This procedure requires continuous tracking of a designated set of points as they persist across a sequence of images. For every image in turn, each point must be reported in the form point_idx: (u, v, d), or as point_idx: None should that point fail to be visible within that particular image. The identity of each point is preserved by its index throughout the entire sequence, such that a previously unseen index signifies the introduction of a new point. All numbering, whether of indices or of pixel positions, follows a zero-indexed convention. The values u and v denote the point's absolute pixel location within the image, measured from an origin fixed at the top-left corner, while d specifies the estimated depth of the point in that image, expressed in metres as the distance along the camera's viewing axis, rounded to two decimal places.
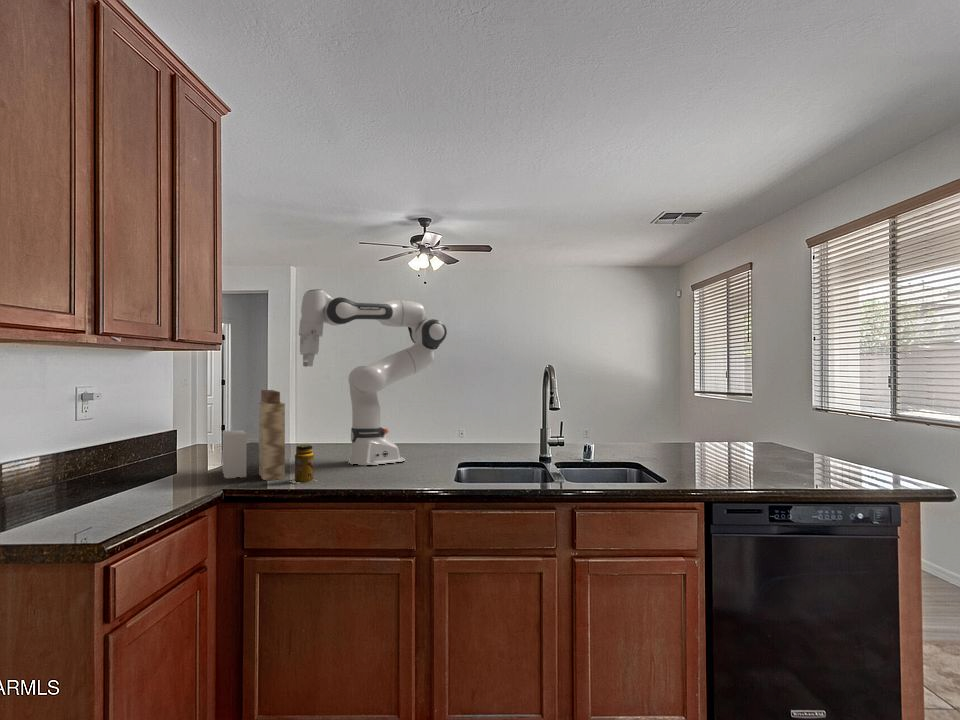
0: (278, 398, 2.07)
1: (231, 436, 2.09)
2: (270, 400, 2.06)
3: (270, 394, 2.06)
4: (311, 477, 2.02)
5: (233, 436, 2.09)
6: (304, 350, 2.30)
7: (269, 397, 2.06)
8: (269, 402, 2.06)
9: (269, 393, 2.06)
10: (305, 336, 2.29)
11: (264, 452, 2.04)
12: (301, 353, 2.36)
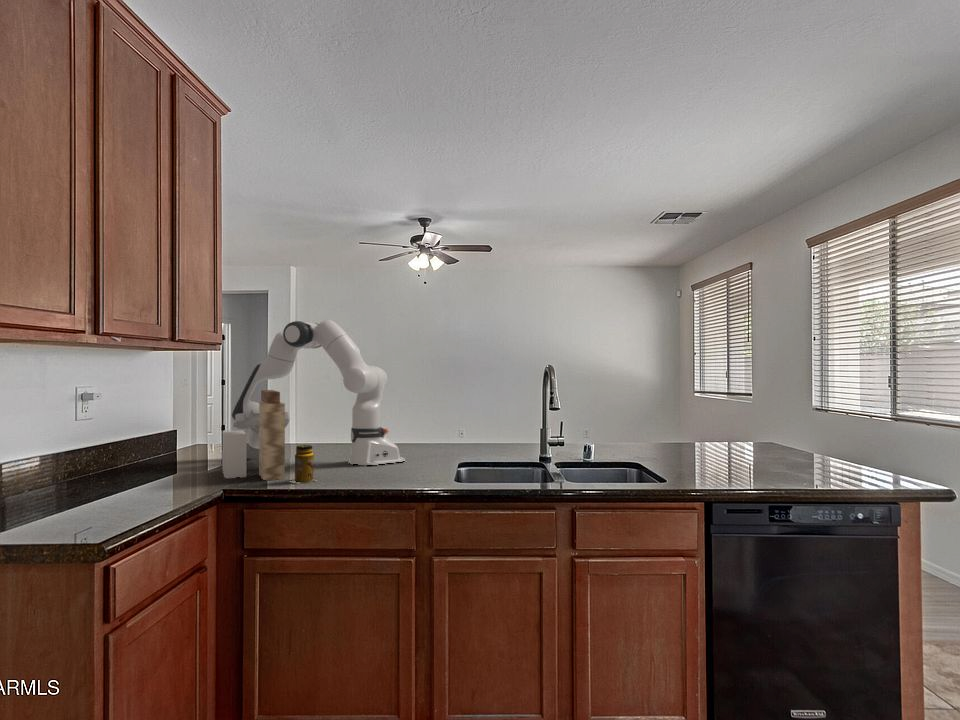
0: (278, 398, 2.07)
1: (231, 436, 2.09)
2: (270, 400, 2.06)
3: (270, 394, 2.06)
4: (311, 477, 2.02)
5: (233, 436, 2.09)
6: None
7: (269, 397, 2.06)
8: (269, 402, 2.06)
9: (269, 393, 2.06)
10: (256, 428, 2.38)
11: (264, 452, 2.04)
12: None
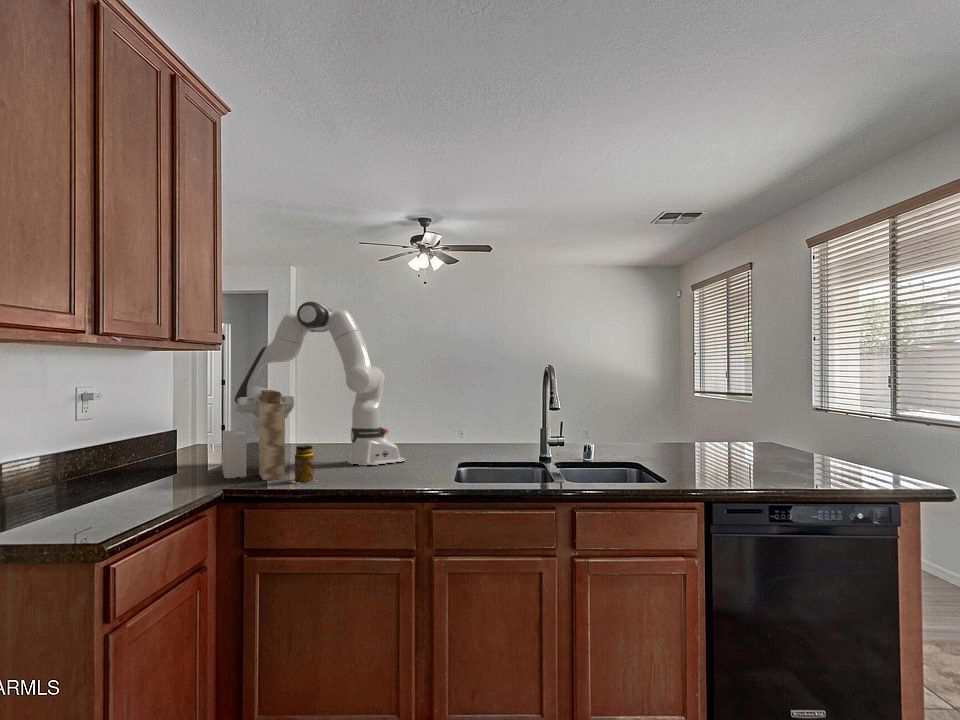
0: (278, 398, 2.07)
1: (231, 436, 2.09)
2: (270, 400, 2.06)
3: (270, 394, 2.06)
4: (311, 477, 2.02)
5: (233, 436, 2.09)
6: None
7: (269, 397, 2.06)
8: (269, 402, 2.06)
9: (269, 393, 2.06)
10: None
11: (264, 452, 2.04)
12: None
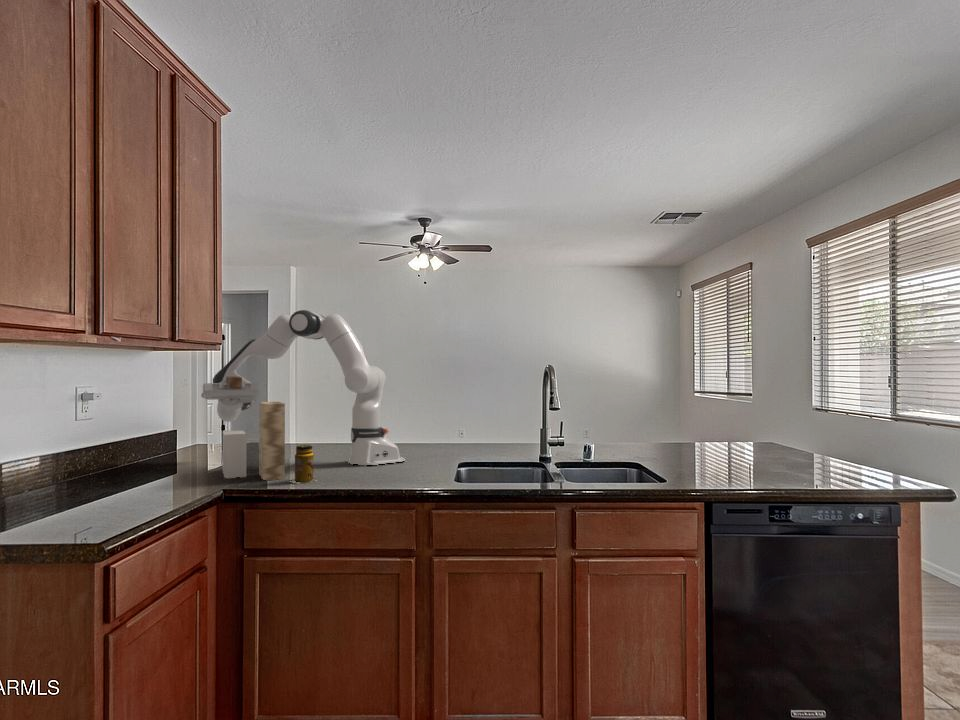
0: (240, 383, 2.11)
1: (231, 436, 2.09)
2: (232, 385, 2.10)
3: (232, 379, 2.10)
4: (311, 477, 2.02)
5: (233, 436, 2.09)
6: (229, 392, 2.28)
7: (231, 382, 2.10)
8: (231, 387, 2.10)
9: (231, 378, 2.10)
10: (224, 399, 2.32)
11: (264, 452, 2.04)
12: (249, 390, 2.31)
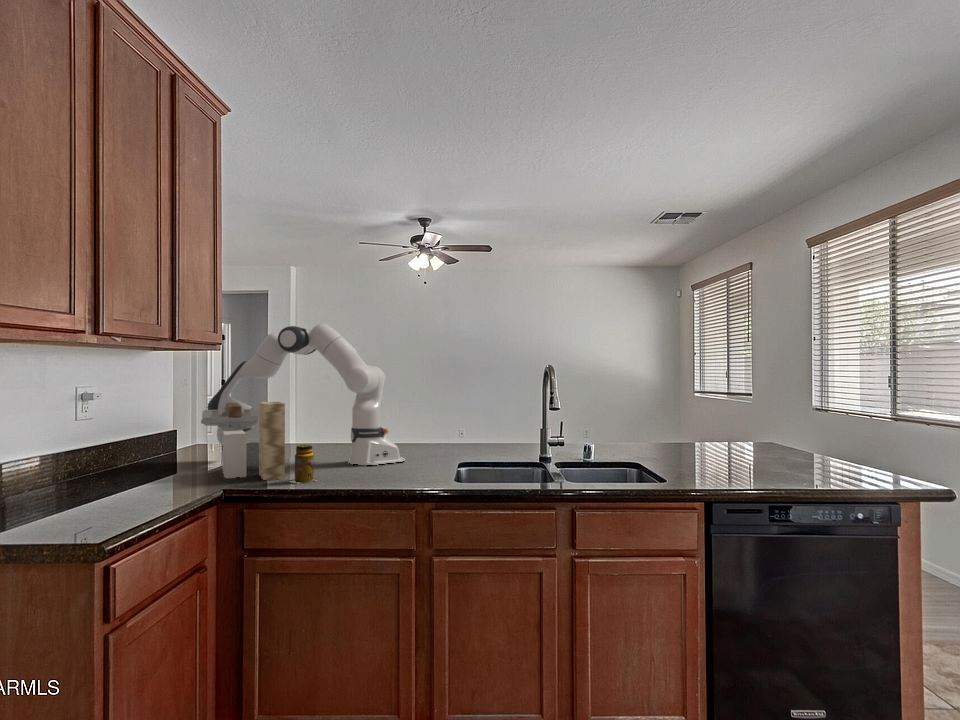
0: (239, 412, 2.11)
1: (231, 436, 2.09)
2: (231, 414, 2.10)
3: (231, 408, 2.10)
4: (311, 477, 2.02)
5: (233, 436, 2.09)
6: (229, 419, 2.28)
7: (230, 411, 2.10)
8: (230, 416, 2.10)
9: (230, 407, 2.10)
10: (224, 425, 2.31)
11: (264, 452, 2.04)
12: (248, 417, 2.30)
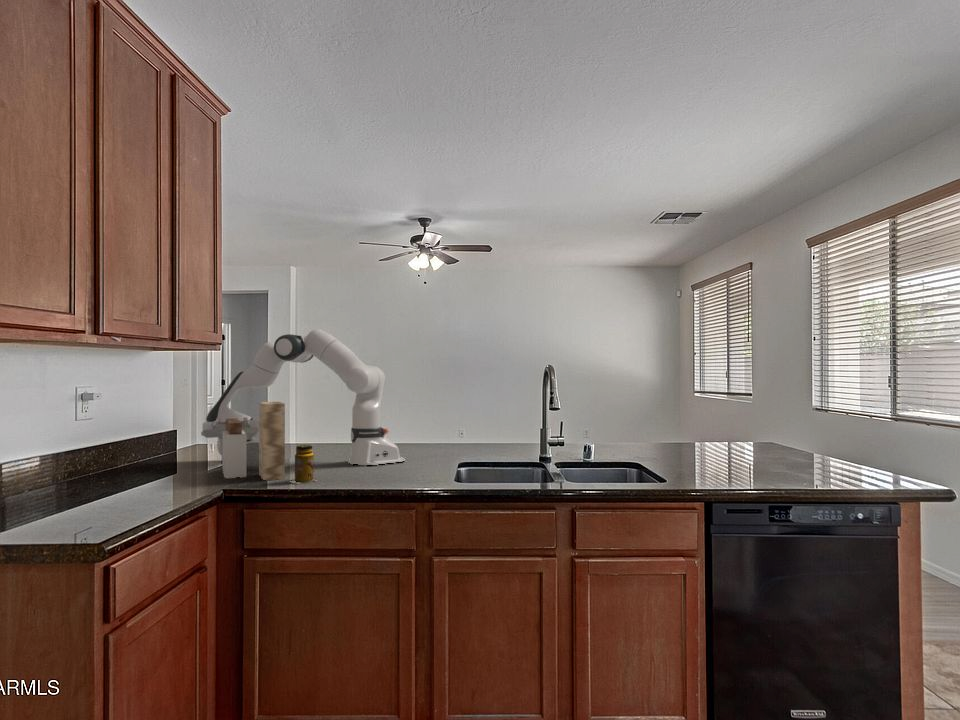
0: (240, 429, 2.11)
1: (231, 436, 2.09)
2: (232, 431, 2.10)
3: (232, 425, 2.10)
4: (311, 477, 2.02)
5: (233, 436, 2.09)
6: None
7: (231, 428, 2.10)
8: (231, 433, 2.10)
9: (231, 424, 2.10)
10: None
11: (264, 452, 2.04)
12: (248, 428, 2.30)
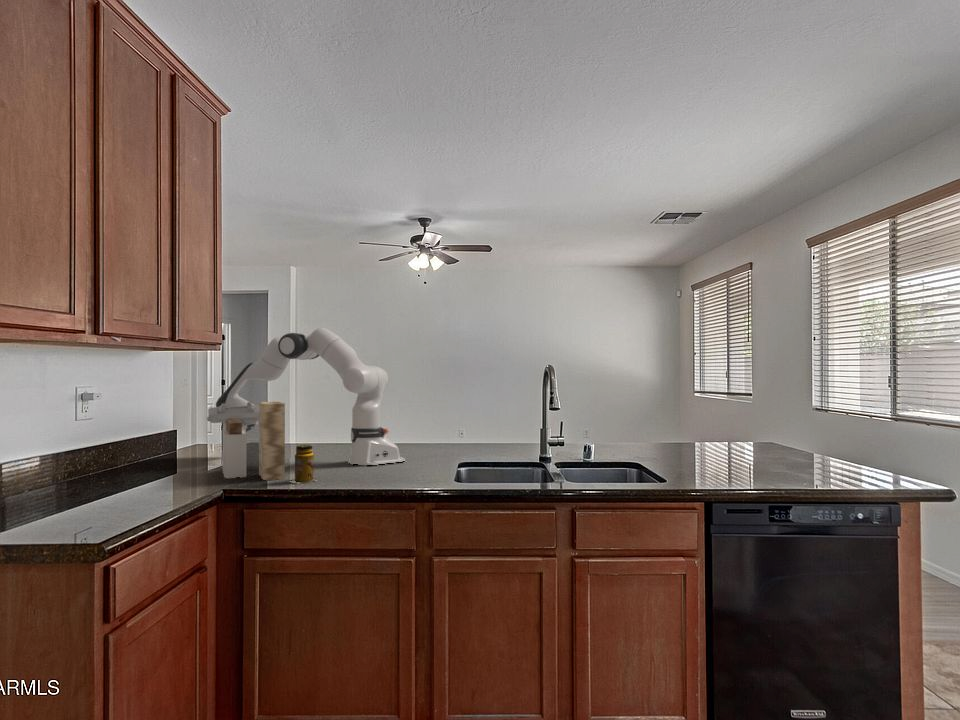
0: (240, 429, 2.11)
1: (231, 436, 2.09)
2: (232, 431, 2.10)
3: (232, 425, 2.10)
4: (311, 477, 2.02)
5: (233, 436, 2.09)
6: (234, 415, 2.38)
7: (231, 428, 2.10)
8: (231, 433, 2.10)
9: (231, 424, 2.10)
10: None
11: (264, 452, 2.04)
12: (252, 413, 2.40)
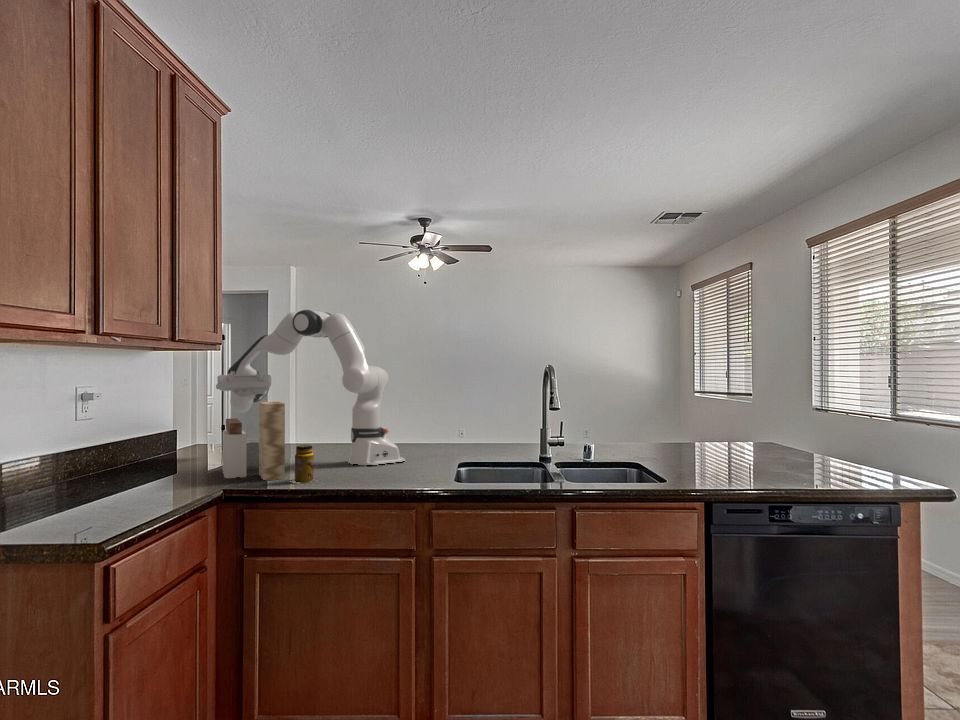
0: (240, 429, 2.11)
1: (231, 436, 2.09)
2: (232, 431, 2.10)
3: (232, 425, 2.10)
4: (311, 477, 2.02)
5: (233, 436, 2.09)
6: (243, 384, 2.39)
7: (231, 428, 2.10)
8: (231, 433, 2.10)
9: (231, 424, 2.10)
10: (238, 391, 2.42)
11: (264, 452, 2.04)
12: (261, 382, 2.41)
